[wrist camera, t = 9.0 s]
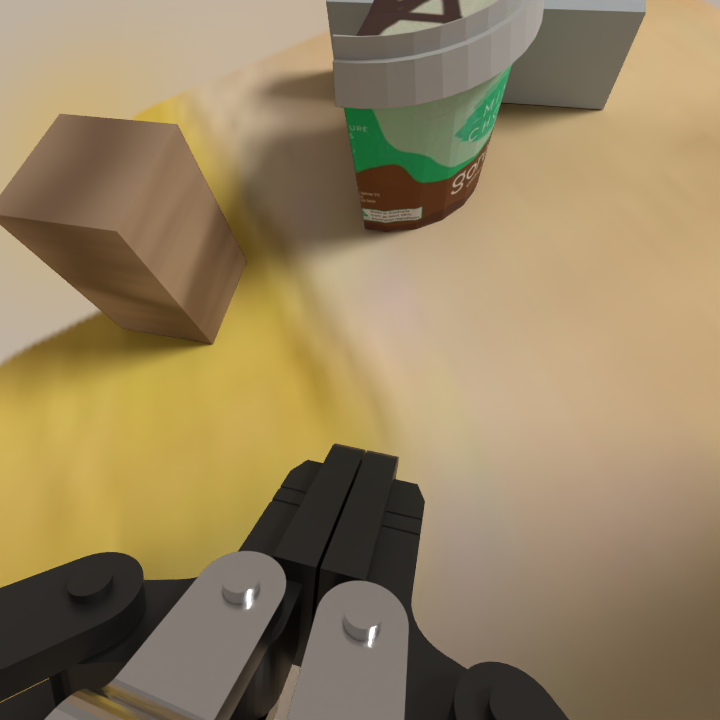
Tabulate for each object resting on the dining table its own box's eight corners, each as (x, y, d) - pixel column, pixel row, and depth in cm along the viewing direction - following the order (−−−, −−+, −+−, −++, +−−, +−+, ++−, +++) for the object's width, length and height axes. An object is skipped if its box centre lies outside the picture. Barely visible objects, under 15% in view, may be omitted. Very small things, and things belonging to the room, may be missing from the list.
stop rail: (603, 82, 27) (644, -16, 22) (602, 109, 26) (645, 12, 21) (346, 67, 29) (336, -24, 25) (338, 91, 28) (326, 1, 24)
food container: (474, 276, 22) (526, 69, 13) (355, 250, 23) (326, 45, 14) (520, 110, 26) (583, -128, 17) (419, 96, 28) (429, -132, 19)
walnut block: (246, 261, 23) (177, 124, 16) (212, 344, 21) (116, 231, 14) (161, 249, 24) (59, 114, 17) (121, 328, 22) (-14, 213, 15)
